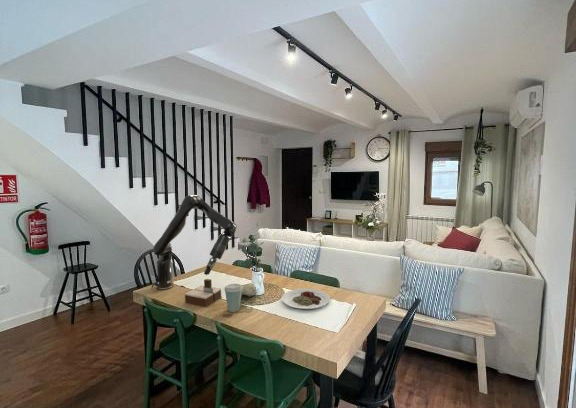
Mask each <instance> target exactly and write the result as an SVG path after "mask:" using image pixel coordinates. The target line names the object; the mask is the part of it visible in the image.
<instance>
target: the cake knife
mask: <svg viewBox="0 0 576 408" xmlns="http://www.w3.org/2000/svg"><path fill="white" fill-rule="evenodd" d="M203 286H204V287H203V290H204V292H208V293H213V288H211V287H213V285H212V279H210V278H205V279H203Z"/></svg>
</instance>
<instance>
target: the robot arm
mask: <svg viewBox="0 0 576 408" xmlns="http://www.w3.org/2000/svg"><path fill="white" fill-rule="evenodd" d="M195 209H197V210H200V211H201V212H203V213H204V214H205V215H206V217H207V218H208V219H209V220H210V221H211V222H213V223H214V224H216V225H218V226H219V227H220V228H222V229H223V232H222V233H220V234H219V236H218V237H217V239H216V241H215V242H214V244H213V246H212V248H211V250H210V252H209V256H211V257H210V258H209V260H208V262H207V264H206V266H205V267H206V268H205V270H204V271H203V275H206V276H208V275H210V273H211V271H212V270H213V269H214V267H215V266H216V263H217V261H218V260H221V259H222V258H223V255H224V253H225V251H226V249H227V246H228V245H229V242H230V240H231V239H232V237H233V236H234V235H235V233H236V232H237V227H238V226H237V224H236V223H235V222H234V221H233V220H231V219H229V218H228V217H226V216H224V214H222V213H221V212H220V211H217V210H216V209H214V208H213V207H212V206H211V205H209V204H208V203H207V202H206V201H205V200H204V199H203V198H202V197H201V196H200V195H197V194H189V195H186V196H185V197H184V198H183V200H182V202H181V203H180V206H179V208H178V209H177V211H176V213H175V214H174V216H173V218H172V219H171V221H170V222H169V224H168V225H167V227H166V229H165V230H164V232H163V233H162V234H161V236H160V237H159V239H158V240H157V241H156V242H155V244H154V245H153V248H152V252H153V254H154V255H155V256H157V257H159V258H158V259H157V260H156V271H157V274H156V276H155V277H156V281H155V282H154V283H152V285H151V288H153V287H156V289H158V290H164V291H165V290H169V289H171V288H173V276H172V275H173V274H172V272H173V271H172V259H173V247H172V244H171V242H172V241H173V240H174V239H176V238H177V237H178V236H179V235H180V234H181V232H182V231H183V230H184V228H185V226H186V223H187V216H188V215H189V214H190V212H191V211H192V210H195Z"/></svg>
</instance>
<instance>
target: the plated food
mask: <svg viewBox="0 0 576 408" xmlns="http://www.w3.org/2000/svg"><path fill="white" fill-rule="evenodd" d="M281 301H282V302H283V304H284V305H286V306H288V307H291V308H293V309H294V308H295V309H300V310H301V309H302V310H312V309H317V308H318V309H319V308H322V307H324V306H326V305H327V304H329V303H330V302H331V297H330V295H329V294H328V293H327V292H325V291H323V290H320V289H314V288H296V289H292V290H289V291H286V292H285V293H283V295H282V297H281Z"/></svg>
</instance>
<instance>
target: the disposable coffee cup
mask: <svg viewBox="0 0 576 408" xmlns="http://www.w3.org/2000/svg"><path fill="white" fill-rule="evenodd" d="M223 289H224V293H225V294H224V295H225V297H226V298H225V299H226V305H227V310H228V312H229V313H235V312H238V311H239V310H240V308H241V300H242V295H241V294H242V290H243V289H244V287H243V285H242V284H240V283H229V284H226V286H224V288H223Z"/></svg>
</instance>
